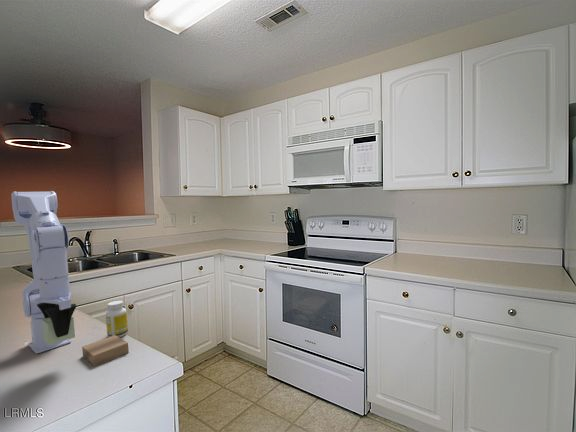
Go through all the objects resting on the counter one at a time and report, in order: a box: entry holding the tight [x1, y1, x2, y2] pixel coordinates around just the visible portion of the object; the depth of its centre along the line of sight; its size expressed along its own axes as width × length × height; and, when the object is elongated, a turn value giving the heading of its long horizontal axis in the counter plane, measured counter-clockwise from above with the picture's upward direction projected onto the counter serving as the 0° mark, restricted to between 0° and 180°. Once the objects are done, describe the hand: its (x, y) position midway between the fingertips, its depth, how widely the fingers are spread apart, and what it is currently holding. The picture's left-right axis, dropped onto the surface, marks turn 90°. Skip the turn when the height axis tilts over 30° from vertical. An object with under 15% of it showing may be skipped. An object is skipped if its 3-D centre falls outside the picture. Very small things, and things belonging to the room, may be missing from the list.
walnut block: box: [81, 335, 130, 367], centre depth 79 cm, size 8×8×3 cm
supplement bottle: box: [105, 300, 129, 338], centre depth 91 cm, size 5×5×10 cm
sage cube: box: [42, 315, 76, 346], centre depth 73 cm, size 5×5×5 cm
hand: (58, 332), depth 73 cm, fingers closed on sage cube, 5 cm apart
